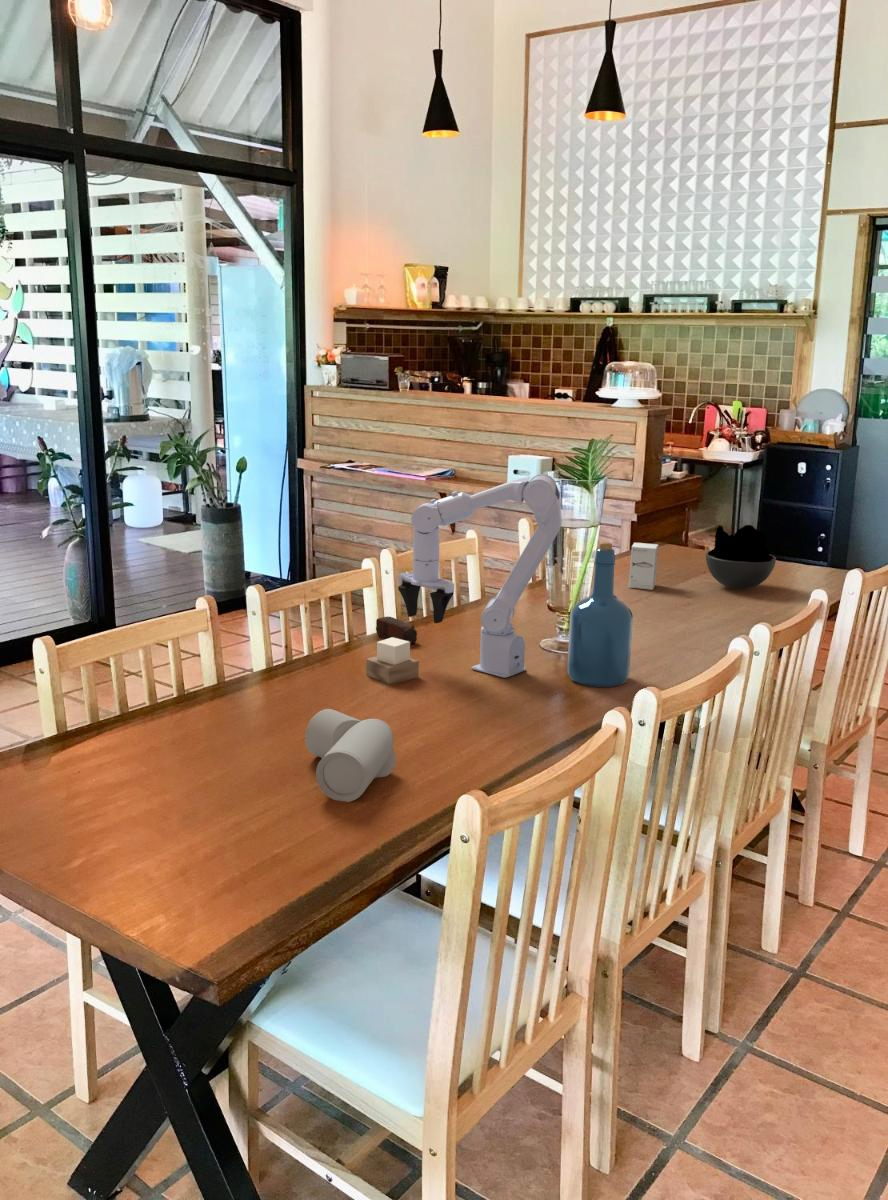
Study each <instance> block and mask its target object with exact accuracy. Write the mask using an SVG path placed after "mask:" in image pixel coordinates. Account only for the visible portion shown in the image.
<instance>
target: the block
mask: <svg viewBox="0 0 888 1200" xmlns="http://www.w3.org/2000/svg"><path fill="white" fill-rule="evenodd" d="M376 656H377V660H379V661H382V662H386V663H390V664H393V665H396V664H399V663H401V662H404V661H407V660H410V658H411V643H410V642H409V641H405V640H401V639H397V638H393V637H391V638H388V639H382V640H379V641H377V642H376Z"/></svg>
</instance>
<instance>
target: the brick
mask: <svg viewBox="0 0 888 1200" xmlns="http://www.w3.org/2000/svg"><path fill="white" fill-rule="evenodd" d="M375 622H376V625H375V631H376V633H377V634H378V635H377V634H376V635H377V637H378V636H380V637H379V638H381V639H383V640H385V639H388V638H391V637H393V638H397V639H401V640H405V641H409V642H410V644H415V643H416V642H417V641H418V640H417V636H418V632H417V630H416V629H415V625H414V624H413V623H409V622H407V621H404V620H400V619H397V618H395V617H392V616H384V617H379V618H376V620H375Z"/></svg>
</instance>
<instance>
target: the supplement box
mask: <svg viewBox="0 0 888 1200" xmlns="http://www.w3.org/2000/svg"><path fill="white" fill-rule="evenodd" d="M630 552H631V554H630V564H629V577H628V580H629V581H628V589H640V590H648V591H649V590H650V591H652V590H654V588H655V586H656V585H655V584H656V576H657V568H658V566H657V565H658V554H659V544H656V543H646V542H645V543H643V542H633V544H632V545H631V551H630Z"/></svg>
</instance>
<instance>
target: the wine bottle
mask: <svg viewBox="0 0 888 1200" xmlns="http://www.w3.org/2000/svg"><path fill="white" fill-rule="evenodd" d="M594 556H595V557H594V561H593V564H594V571H593V572H594V573H593V580H592V593H591V594H590V595H589V596H587V597H585V598H583V599H581V600H580V601H578V602H577V603H575V604H574V605H573V607H572V608H571V611H570V614H569V631H568V633H569V634H568V650H567V653H568V654H567V669H566V671H567V674H568V676H569V677H570V680H571V681H573V682H575V683H578V684H580V685H583V686H589V687H595V688H611V687H615V686H621V685H624V683H626V682H627V681H628V679H629V677H630V671H631V669H630V668H631V655H632V640H633V625H634V615H633V613H632V611H631V609H630V608H629V607H628V605H627V604H626V603H625V602H624V601H622V600H620V599H619V598H618V596H616V595H615V594H614V589H615V588H614V586H615V585H614V583H615V580H614V579H615V578H614V577H615V565H616V559H615V558H616V555H615V549H613V543H612V542H610V541H600V542H599V543H598V548H596V550H595V555H594Z"/></svg>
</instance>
